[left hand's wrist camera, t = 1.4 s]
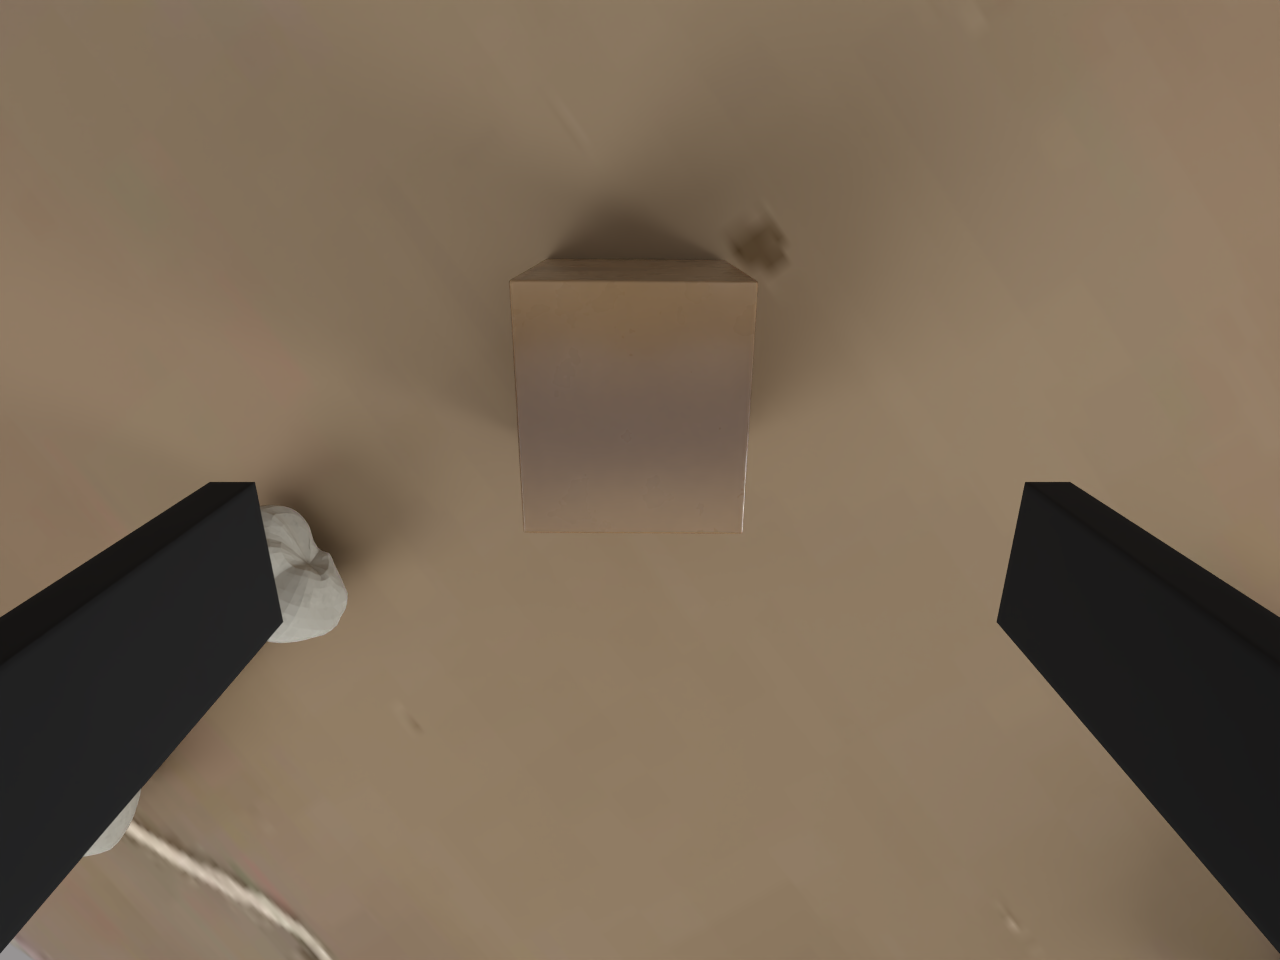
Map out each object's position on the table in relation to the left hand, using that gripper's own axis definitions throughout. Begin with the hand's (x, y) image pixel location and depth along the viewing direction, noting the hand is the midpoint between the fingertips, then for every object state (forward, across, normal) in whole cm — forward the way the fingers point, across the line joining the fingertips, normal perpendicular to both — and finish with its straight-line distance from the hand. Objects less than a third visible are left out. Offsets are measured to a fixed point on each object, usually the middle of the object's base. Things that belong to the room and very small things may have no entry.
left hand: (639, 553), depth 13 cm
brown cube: (+17, 0, 0) cm, 17 cm away
